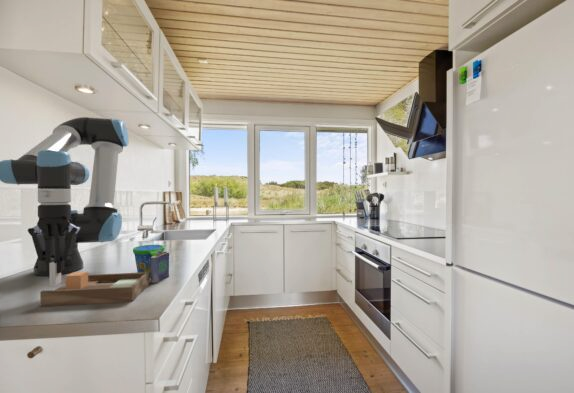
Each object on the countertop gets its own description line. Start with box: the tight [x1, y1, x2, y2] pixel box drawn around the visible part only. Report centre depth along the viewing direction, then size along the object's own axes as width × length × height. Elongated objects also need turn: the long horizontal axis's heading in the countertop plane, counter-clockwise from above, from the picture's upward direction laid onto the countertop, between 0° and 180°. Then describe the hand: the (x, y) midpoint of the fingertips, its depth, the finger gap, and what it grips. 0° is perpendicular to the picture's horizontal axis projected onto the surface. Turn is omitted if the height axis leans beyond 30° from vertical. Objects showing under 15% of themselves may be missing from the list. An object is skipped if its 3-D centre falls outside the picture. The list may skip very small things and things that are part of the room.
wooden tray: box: [39, 272, 151, 308], centre depth 85 cm, size 15×23×4 cm, turn 99°
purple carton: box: [150, 249, 170, 285], centre depth 99 cm, size 9×3×11 cm, turn 172°
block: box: [64, 271, 89, 289], centre depth 83 cm, size 4×4×4 cm
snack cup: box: [132, 244, 165, 277], centre depth 105 cm, size 16×10×10 cm
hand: (55, 283), depth 82 cm, fingers closed
